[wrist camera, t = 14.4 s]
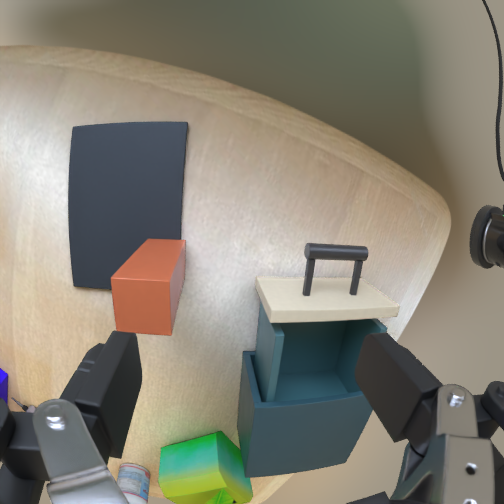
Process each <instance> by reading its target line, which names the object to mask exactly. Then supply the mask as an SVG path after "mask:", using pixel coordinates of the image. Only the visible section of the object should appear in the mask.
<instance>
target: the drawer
mask: <svg viewBox="0 0 504 504" xmlns="http://www.w3.org/2000/svg"><path fill="white" fill-rule="evenodd" d="M305 257H306V259H307V264H306V271H305V277H271V276H256V280H255V287H256V290H257V292H258V294H259V297H260V299H261V301H260V311H259V321H258V331H257V341H256V350H255V360H254V373H255V377H256V382H257V386H258V390H259V394H260V398H261V402H276V401H289V400H299V399H309V398H317V397H325V396H332V395H339V394H345V393H351V392H357V391H361V389H360V388H359V386H358V385H357V383H356V380H355V367H356V363H357V360H358V357H359V354H360V350H361V347H362V343H363V340H364V337H365V336H366V335H367V334H373V333H383V332H386V331H387V327H386V326H384V325H383V324H382V323H381V322H380V321H379V320H378V319H377V318H385V317H397V315H398V312H399V308H400V305H398V304H397V303H396V302H394V301H393V300H391V299H390V298H389V297H387V296H386V295H385V294H383V293H382V292H381V291H379V290H378V289H376V288H375V287H374V286H372V285H371V284H370V283H368V282H367V281H365V280H364V279H363V278H360V275H361V269H362V264H363V261H365V260H366V259H367V257H368V249H367V247H365V246H350V245H333V244H316V243H307V244H306V246H305ZM315 259H322V260H350V261H355V265H354V271H353V276H352V278H322V277H313V273H314V266H315Z"/></svg>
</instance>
